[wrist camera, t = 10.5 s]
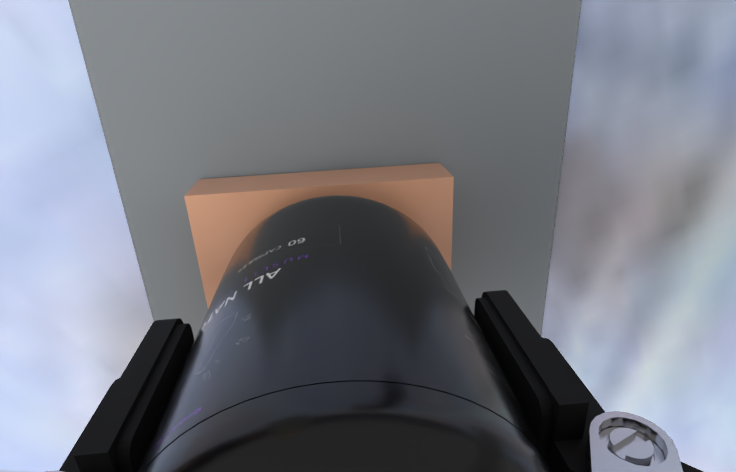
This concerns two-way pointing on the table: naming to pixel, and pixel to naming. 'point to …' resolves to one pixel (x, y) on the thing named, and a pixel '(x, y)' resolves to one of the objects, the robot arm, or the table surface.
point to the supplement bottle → (341, 358)
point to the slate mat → (337, 117)
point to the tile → (276, 191)
